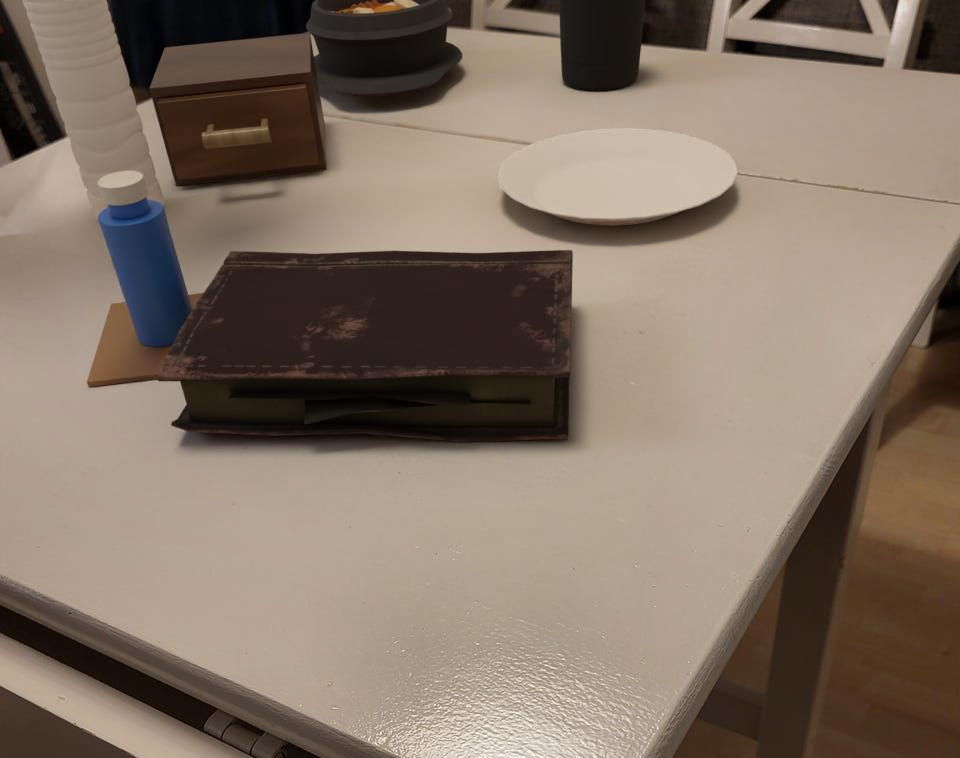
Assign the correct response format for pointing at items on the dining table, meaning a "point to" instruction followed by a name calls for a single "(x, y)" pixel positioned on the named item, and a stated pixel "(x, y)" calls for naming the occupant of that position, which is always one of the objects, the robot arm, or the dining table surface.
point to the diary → (380, 346)
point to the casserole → (381, 45)
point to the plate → (617, 175)
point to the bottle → (143, 258)
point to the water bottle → (92, 92)
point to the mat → (125, 351)
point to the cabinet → (240, 82)
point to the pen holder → (600, 42)
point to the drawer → (239, 130)
